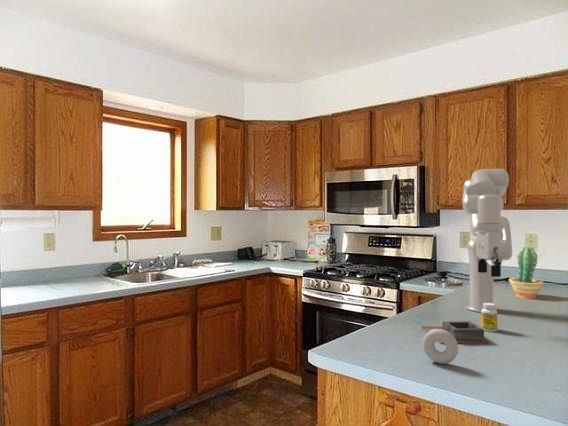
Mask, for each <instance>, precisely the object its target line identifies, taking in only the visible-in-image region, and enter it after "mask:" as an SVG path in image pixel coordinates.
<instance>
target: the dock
mask: <svg viewBox="0 0 568 426" xmlns="http://www.w3.org/2000/svg"><path fill="white" fill-rule="evenodd" d="M421 328H422V330H424V331H425V333H426V334H427V333H428V332H429V331H431V330H434V329H442V330H446V331H447V332H449V333H451V334H452V335H453V337H454V338H455V339H456V341H457V343H462V344H489V340H488V339H487V338H486V337H485V330H484V329H482V328H481V326H479V325H477V324H476V323H474V322H472V321H471V320H470V321H466V320H465V321H464V320H463V321H442V325H421ZM437 342H438V343H439V344H441V345H442V344H443V345H445V344H444V343H443V342H442V341H437Z"/></svg>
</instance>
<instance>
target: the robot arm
mask: <svg viewBox="0 0 568 426" xmlns="http://www.w3.org/2000/svg"><path fill="white" fill-rule="evenodd" d="M470 177H471V178H470V179H467V180H465V182H464V184H463V186H462V187H463V190H462V191H463V194H462V210H463V211H464V212H465V213H466V214H467V215H469V222H470V223H469V224H470V225H469V227H470V233H471V235H472V236H474V237H475V238H472V239H470V240H469V241H468V242H467V253H468V261H469V298H468V300H469V303H468V304H466V305H465V309H467V310H469V311H472V312H477V313H481V310H482V309H484V307H483V303H493V304H495V303H494V294H495V293H494V291H495V289H494V281H495V279H494V278H500V277H501V275H502V273H501V272H502V269H501V268H502V267H501V266H502V263H503V261H508V260H511V258H512V255H513V244H512V243H513V242H512V231H511V223H510V221H509V219H508V218H507V217H505V216H501V212H502V211H503V210H504V206H505V205H504V200H503V198H502V196H504V195H505V193H506V192H507V189H508V186H509V182H510V181H509V180H510V178H509V177H510V176H509V174H508V172H507V170H506V169H505V168H480V169H477V170H475V171H474V172H473V173H472V174H471V176H470ZM488 261H490V262H491V265H490V264H489V262H488ZM495 310H496V311H497V312H498V307H497V306H495Z"/></svg>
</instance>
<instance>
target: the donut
mask: <svg viewBox="0 0 568 426" xmlns="http://www.w3.org/2000/svg"><path fill="white" fill-rule="evenodd" d="M438 341H442V342H443V343H444V344H443V345H445V350H444V351H440V350H438V349H437V347H436V345H435V344H436V343H437V342H438ZM422 349H423V351H424V353H425V355H426V356H427V357H428V358H429V359H430V360H432V362H434V363H436V364H441V365H442V364H443V365H445V364H449V363H452V362H453V361H454V360H455V359H456V357H457V356H458V354H459V345H458V343H457V341H456V339H455V338H454V337H453V335H452V334H451V333H449V332H447V331H446V330H442V329H434V330H431V331H429V332H428V333H427V332H426V333H425V334H424V337H423V339H422Z"/></svg>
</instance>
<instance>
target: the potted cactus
mask: <svg viewBox="0 0 568 426" xmlns="http://www.w3.org/2000/svg"><path fill="white" fill-rule="evenodd" d="M516 260H517V266H518V277H517V278H516V277H515V278H513V277H512V278H508V282H509V284H511V286H512V287H511V288H512V290H513V291H514V292H515V297H517V298H521V299H537V294H538V293H540V291H541V288H542V286H544V283H545V282H544V281H543V280H539V279H533V277H534V271H535V269H536V267H537V264H538V254H537V253H536V251H535V250H534V248H533V247H529V246H527V247H526V246H522V248H521V249H520V250H519V251H518V253H517V255H516Z"/></svg>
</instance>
